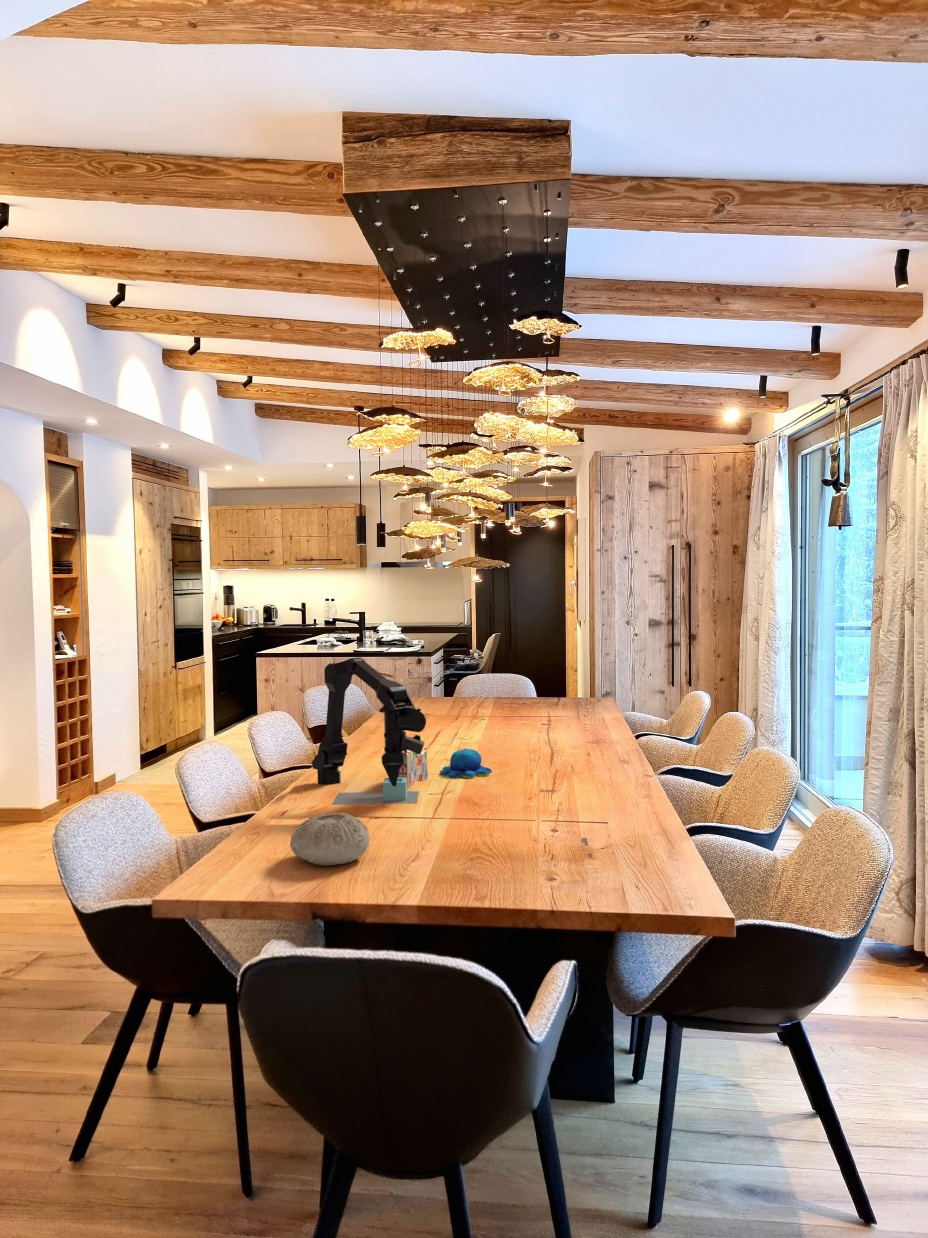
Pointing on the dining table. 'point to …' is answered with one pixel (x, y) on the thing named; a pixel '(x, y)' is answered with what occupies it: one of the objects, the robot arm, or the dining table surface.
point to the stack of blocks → (414, 767)
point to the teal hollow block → (395, 789)
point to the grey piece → (371, 798)
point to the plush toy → (465, 765)
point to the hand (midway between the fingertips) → (395, 782)
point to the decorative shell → (330, 839)
